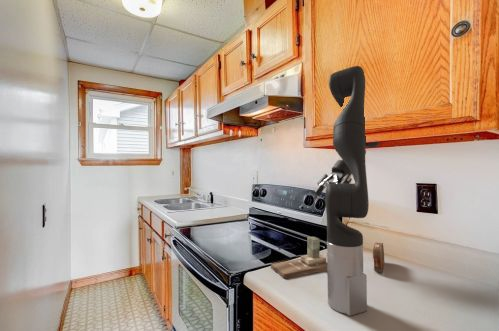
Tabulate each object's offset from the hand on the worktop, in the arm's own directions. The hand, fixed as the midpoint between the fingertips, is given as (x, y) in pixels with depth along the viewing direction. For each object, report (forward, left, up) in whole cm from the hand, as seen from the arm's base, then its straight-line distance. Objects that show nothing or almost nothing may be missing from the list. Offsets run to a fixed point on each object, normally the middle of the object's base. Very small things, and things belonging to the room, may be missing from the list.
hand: (323, 195), depth 99 cm
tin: (-11, -16, -27) cm, 33 cm away
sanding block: (0, +5, -25) cm, 26 cm away
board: (0, +11, -27) cm, 29 cm away
